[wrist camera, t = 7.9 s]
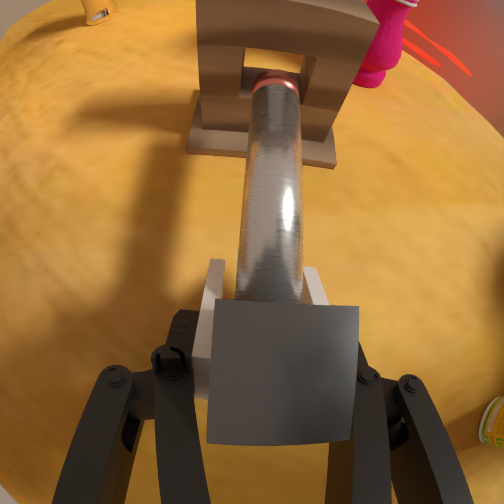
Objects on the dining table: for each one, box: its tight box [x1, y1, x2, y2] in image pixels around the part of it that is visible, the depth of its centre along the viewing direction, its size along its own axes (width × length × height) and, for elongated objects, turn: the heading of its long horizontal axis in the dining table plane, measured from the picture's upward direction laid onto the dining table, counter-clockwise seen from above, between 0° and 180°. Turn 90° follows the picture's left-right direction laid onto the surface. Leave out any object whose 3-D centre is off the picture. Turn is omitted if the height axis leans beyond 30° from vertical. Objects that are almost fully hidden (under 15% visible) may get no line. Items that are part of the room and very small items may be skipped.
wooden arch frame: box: [186, 0, 380, 169], centre depth 17 cm, size 8×12×13 cm, turn 86°
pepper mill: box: [353, 0, 419, 88], centre depth 18 cm, size 7×7×20 cm
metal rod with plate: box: [206, 70, 359, 446], centre depth 14 cm, size 18×4×11 cm, turn 176°
